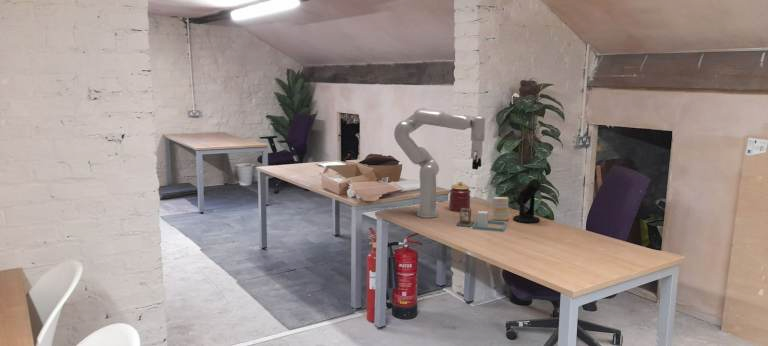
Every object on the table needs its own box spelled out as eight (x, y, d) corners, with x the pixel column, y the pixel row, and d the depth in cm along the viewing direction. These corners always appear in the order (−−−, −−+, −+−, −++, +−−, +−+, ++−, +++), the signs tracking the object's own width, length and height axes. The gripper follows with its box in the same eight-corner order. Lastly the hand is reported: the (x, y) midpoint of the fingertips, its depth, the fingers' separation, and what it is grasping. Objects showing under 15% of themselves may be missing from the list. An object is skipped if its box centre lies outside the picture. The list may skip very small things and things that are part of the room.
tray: (472, 228, 302) (472, 225, 302) (476, 222, 316) (476, 219, 316) (503, 231, 297) (503, 228, 297) (506, 224, 311) (506, 222, 310)
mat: (456, 225, 307) (456, 224, 307) (460, 221, 317) (460, 220, 317) (470, 227, 305) (470, 225, 305) (474, 222, 314) (474, 221, 314)
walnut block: (460, 223, 309) (460, 209, 308) (461, 221, 314) (462, 207, 312) (468, 224, 307) (469, 210, 306) (470, 222, 312) (471, 208, 311)
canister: (472, 208, 349) (473, 180, 346) (466, 212, 337) (467, 184, 334) (452, 206, 354) (453, 179, 351) (446, 210, 343) (447, 182, 340)
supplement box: (506, 218, 324) (507, 196, 322) (507, 220, 319) (508, 198, 317) (492, 218, 325) (493, 196, 323) (493, 220, 320) (494, 198, 318)
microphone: (525, 225, 310) (528, 181, 305) (506, 218, 325) (508, 176, 321) (546, 222, 316) (549, 179, 311) (527, 215, 331) (529, 174, 327)
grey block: (477, 226, 306) (477, 212, 305) (478, 224, 311) (479, 210, 310) (486, 227, 305) (486, 213, 303) (487, 225, 309) (488, 211, 308)
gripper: (473, 136, 324) (472, 165, 327) (468, 139, 308) (467, 169, 310) (486, 136, 321) (485, 166, 324) (481, 140, 305) (480, 170, 308)
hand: (476, 167), depth 317 cm, fingers open, 9 cm apart
